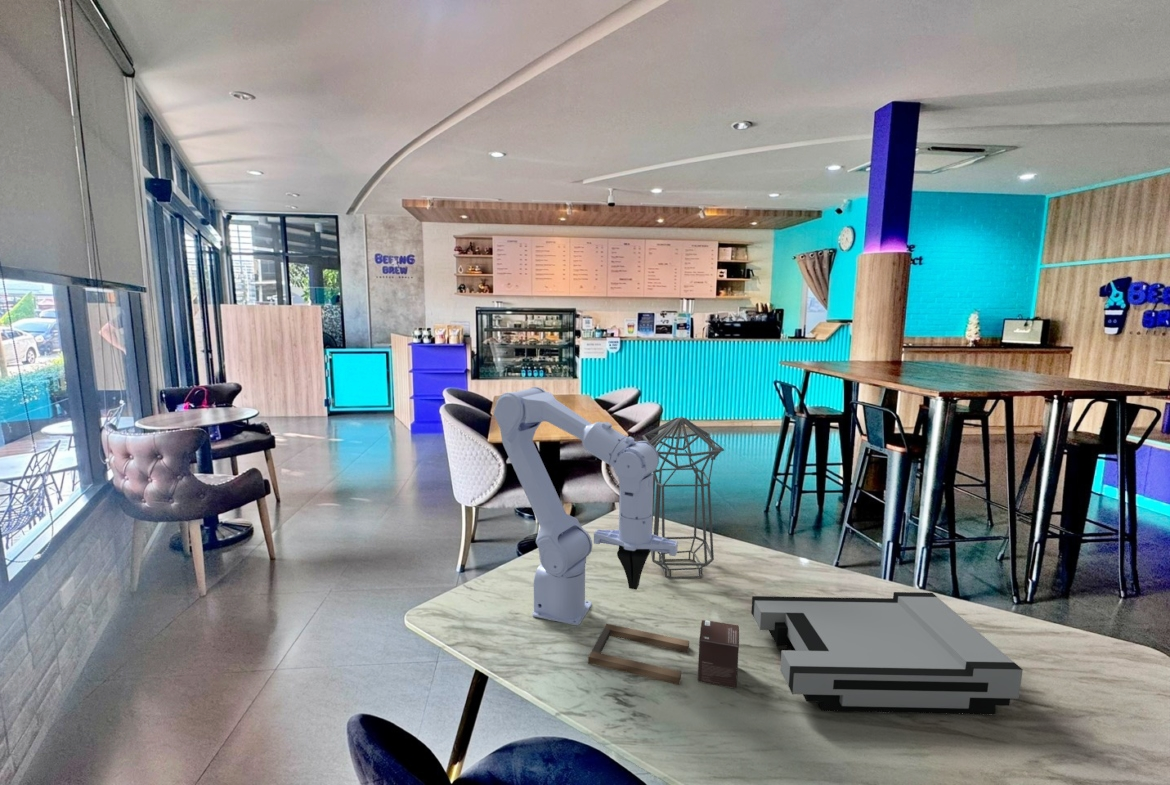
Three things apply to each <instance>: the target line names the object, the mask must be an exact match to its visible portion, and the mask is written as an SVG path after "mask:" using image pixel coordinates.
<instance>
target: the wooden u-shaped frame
mask: <svg viewBox="0 0 1170 785" xmlns="http://www.w3.org/2000/svg"><path fill="white" fill-rule="evenodd" d="M610 637H612V638H613V637H614V638H618V639H623V640H626V641H631V642H637V643H641V644H645V645H649V646H656V647H660V648H664V649H669V650H673V651H678V652H682V653H689V649H690V640H688V639H687V640H686V639H681V638H677V637H672V636H668V635H663V634H658V633H653V632H649V631H645V630H638V629H636V628H635V629H634V628H629V627H624V626H620V625H615V624H609V623H605V625H604V627H603V629H602V631H601V632H600V635H599V636H598V638H597V640H596V642H595V644H594V645H593V647H592V649H591V651H590V653H589V654H588V657H587V663H588V664H589V665H593V666H599V667H602V668H603V667H604V668H607V669H610V670H614V671H619V672H624V673H626V674H627V673H628V674H631V675H636V676H640V677H644V678H647V679H648V678H649V679H653V680H657V681H662V682H664V683H665V682H666V683H670V684H673V685H679V686H680V683H681V679H682V670H676V669H673V668H672V669H671V668H669V667H664V666H660V665H659V666H658V665H655V664H650V663H646V662H642V661H638V660H634V659H633V660H632V659H629V658H624V657H620V656H616V655H611V654H606V653H603V650H604V649H605V647H606V645H607V642H608V641H609V639H610Z"/></svg>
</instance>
